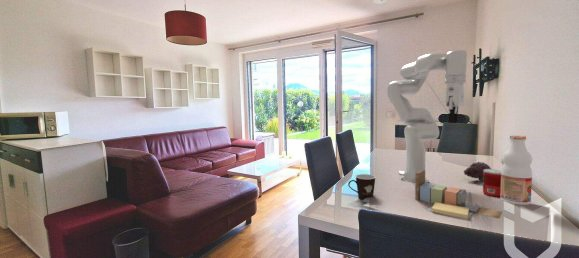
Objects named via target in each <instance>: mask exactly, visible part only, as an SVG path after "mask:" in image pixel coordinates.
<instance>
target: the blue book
mask: <svg viewBox="0 0 579 258" xmlns="http://www.w3.org/2000/svg"><path fill="white" fill-rule="evenodd" d="M435 185H436V183H435V184H434V183H429V182H428V183H424V184H423V185H421V186H420V200H422V201H421V202H423V201H427V202H426V203H428V202H431V188H432V187H433V186H435Z"/></svg>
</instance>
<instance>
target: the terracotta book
mask: <svg viewBox="0 0 579 258" xmlns="http://www.w3.org/2000/svg"><path fill="white" fill-rule="evenodd" d="M461 190H462V188H457V187H451V186H449V187H448V188H447V190H445V204H449V205H455V206H457V194H458V193H459V192H460V191H461Z"/></svg>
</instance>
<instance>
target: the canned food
mask: <svg viewBox="0 0 579 258" xmlns="http://www.w3.org/2000/svg"><path fill="white" fill-rule="evenodd" d="M501 170H502V169H495V168H491V169H485V170H484V171H483V181H482V193H483V194H484V195H485V196H488V197H492V198H500V194H501Z"/></svg>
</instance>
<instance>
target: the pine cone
mask: <svg viewBox="0 0 579 258" xmlns="http://www.w3.org/2000/svg"><path fill="white" fill-rule="evenodd" d="M485 169H492V168H491V167H490V165H488V163H485V162H483V161H482V162H480V161H477V162H473V163H471V164H470V166H469V167H467V168H465V170H463V174H464V175H465V176H467V177H470V178H473V179H478V180H479V181H482V182H483V171H484V170H485Z"/></svg>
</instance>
